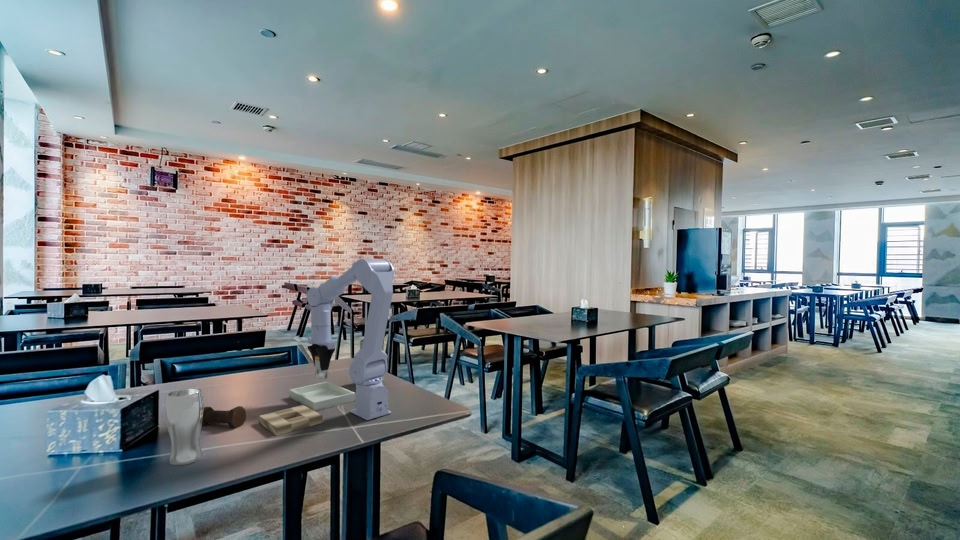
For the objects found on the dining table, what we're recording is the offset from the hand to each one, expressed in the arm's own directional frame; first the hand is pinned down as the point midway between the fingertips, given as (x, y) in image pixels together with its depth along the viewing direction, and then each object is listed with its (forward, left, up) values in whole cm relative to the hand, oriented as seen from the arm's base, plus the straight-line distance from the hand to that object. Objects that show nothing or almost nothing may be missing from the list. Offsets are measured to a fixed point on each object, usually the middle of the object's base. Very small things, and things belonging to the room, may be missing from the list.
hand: (321, 368), depth 138 cm
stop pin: (0, 0, -3) cm, 3 cm away
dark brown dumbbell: (0, +29, -10) cm, 31 cm away
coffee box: (+3, -20, -10) cm, 22 cm away
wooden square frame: (-13, +15, -10) cm, 22 cm away
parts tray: (0, 0, -10) cm, 10 cm away
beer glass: (-18, +40, -10) cm, 45 cm away
